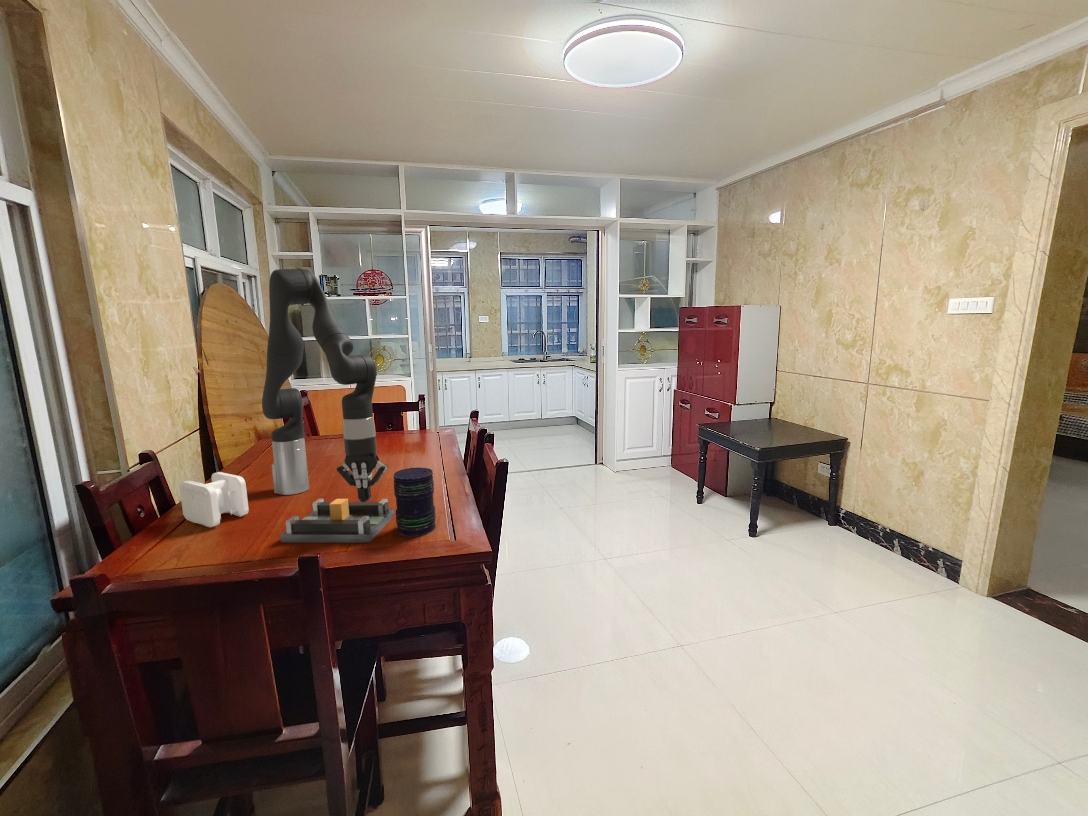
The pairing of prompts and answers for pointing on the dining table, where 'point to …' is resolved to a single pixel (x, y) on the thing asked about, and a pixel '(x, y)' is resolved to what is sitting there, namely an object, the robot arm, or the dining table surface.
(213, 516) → the cable organizer
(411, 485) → the dark blue cylinder
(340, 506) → the toggle
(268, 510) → the dining table surface
